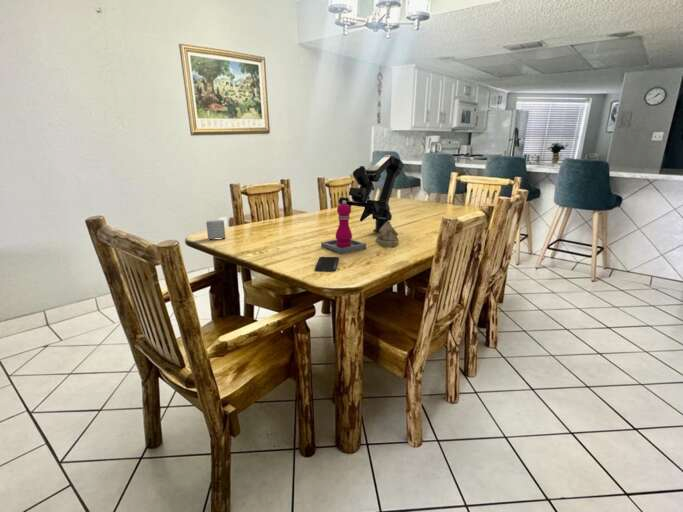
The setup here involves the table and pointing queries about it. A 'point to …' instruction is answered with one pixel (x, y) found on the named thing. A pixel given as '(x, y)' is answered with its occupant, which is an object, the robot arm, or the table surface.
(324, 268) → the phone
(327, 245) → the grey tray
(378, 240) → the ceramic model
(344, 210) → the pepper mill
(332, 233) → the table surface
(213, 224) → the medicine box
